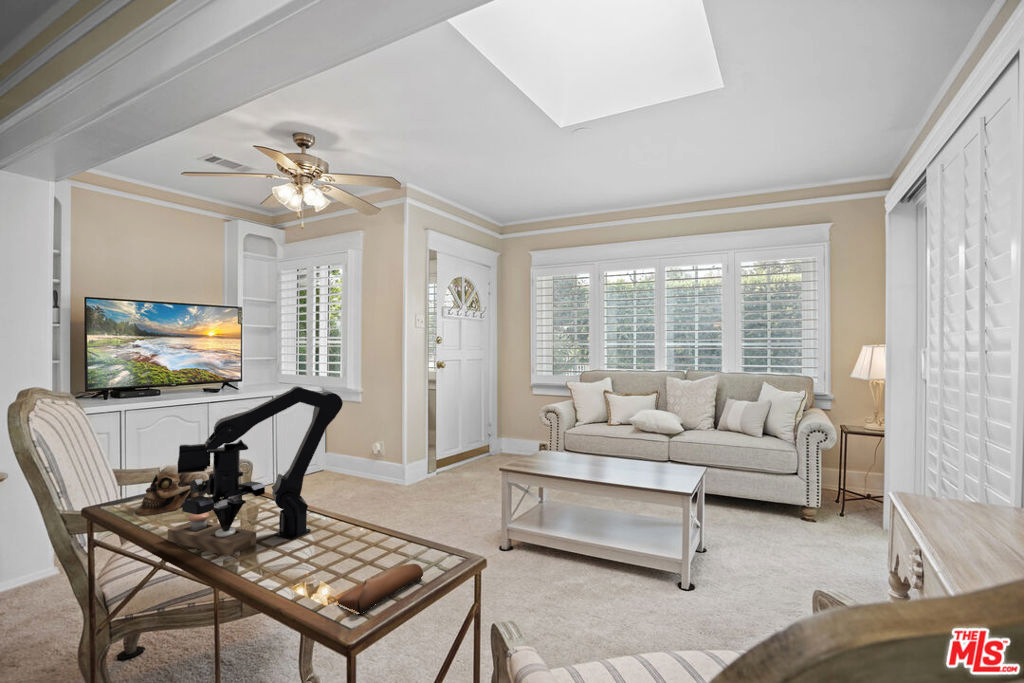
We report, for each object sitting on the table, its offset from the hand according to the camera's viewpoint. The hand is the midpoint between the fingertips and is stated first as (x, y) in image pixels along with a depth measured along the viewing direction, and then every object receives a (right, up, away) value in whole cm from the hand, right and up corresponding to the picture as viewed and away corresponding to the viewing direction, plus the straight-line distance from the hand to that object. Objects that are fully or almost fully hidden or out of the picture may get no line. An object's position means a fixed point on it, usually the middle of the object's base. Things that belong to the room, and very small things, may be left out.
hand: (225, 531), depth 126 cm
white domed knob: (0, -4, 0) cm, 4 cm away
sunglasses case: (+44, -5, -22) cm, 50 cm away
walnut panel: (-5, -4, +2) cm, 6 cm away
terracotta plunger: (-9, -1, +4) cm, 10 cm away
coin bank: (-33, -4, +30) cm, 45 cm away
